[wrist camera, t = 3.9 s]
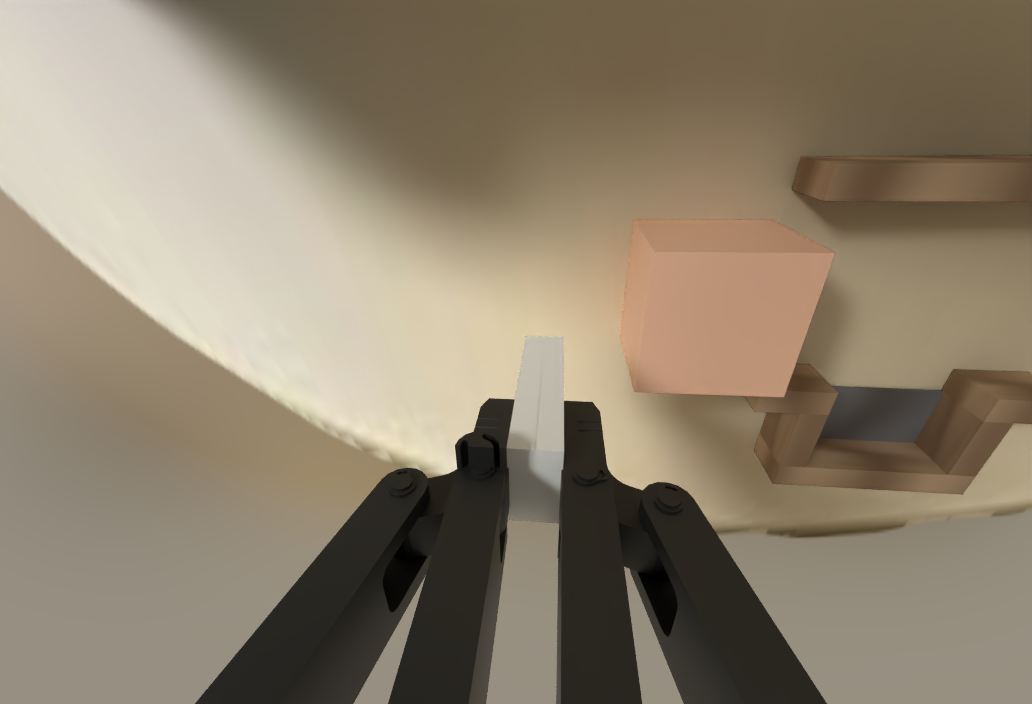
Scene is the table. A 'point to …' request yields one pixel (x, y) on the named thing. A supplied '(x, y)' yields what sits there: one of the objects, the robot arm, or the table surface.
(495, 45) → the table surface
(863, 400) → the open wooden frame
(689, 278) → the block
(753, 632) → the robot arm
